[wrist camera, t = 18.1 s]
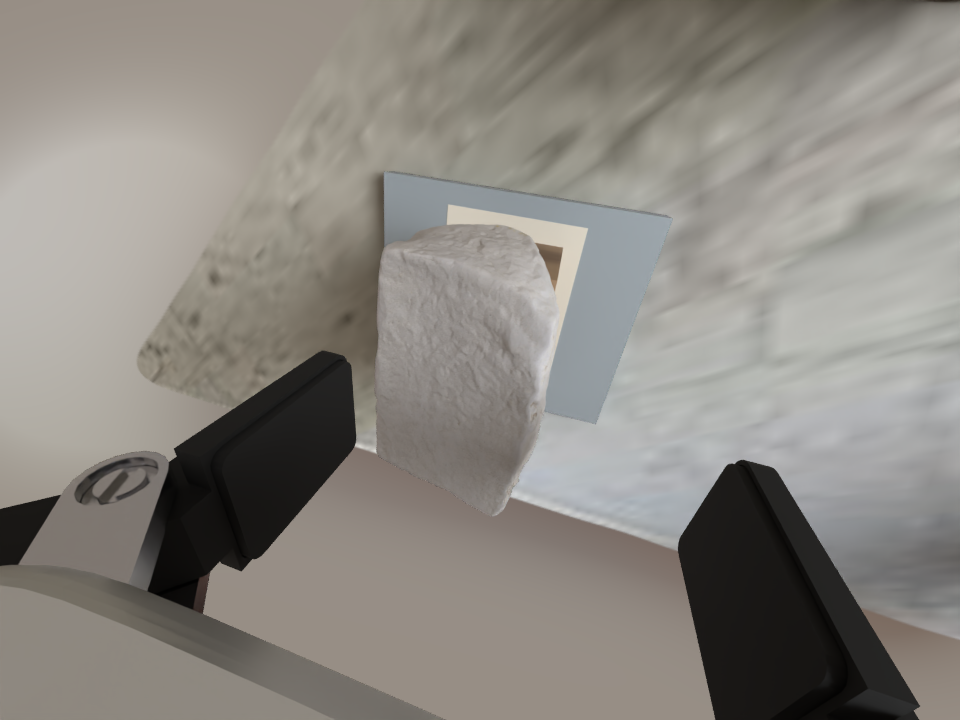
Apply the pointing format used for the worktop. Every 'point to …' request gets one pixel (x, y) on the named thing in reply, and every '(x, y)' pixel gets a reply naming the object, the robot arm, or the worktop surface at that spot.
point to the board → (582, 275)
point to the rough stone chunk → (463, 358)
